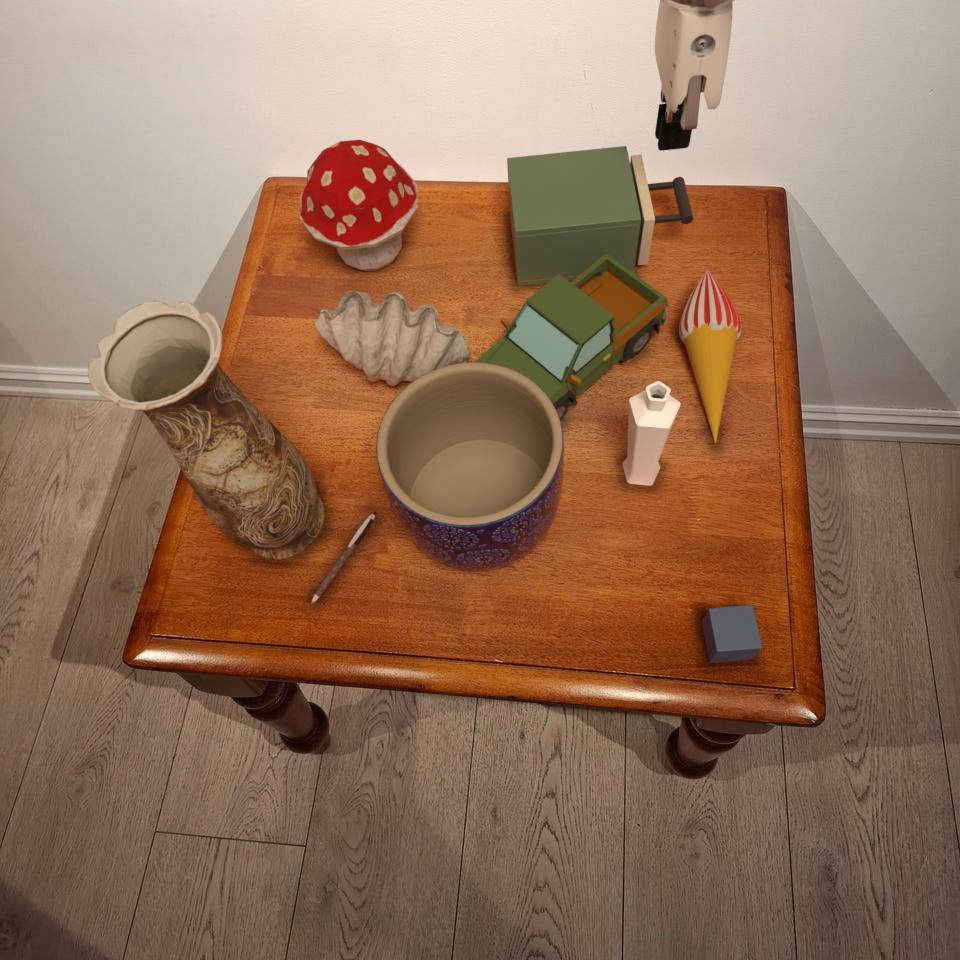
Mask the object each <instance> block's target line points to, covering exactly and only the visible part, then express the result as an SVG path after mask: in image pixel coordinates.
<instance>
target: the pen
mask: <svg viewBox="0 0 960 960" xmlns="http://www.w3.org/2000/svg"><path fill="white" fill-rule="evenodd" d="M376 515H377V511H373V513H371V514H370V515H368V517H367V518H366V519H365V520H364V521H363V523H362V524H361V525H360V527H359V528H358V529H357V531H356V532H355V534H354V536H353V537H352V538H351V540H349V542H348V544H347V545H346V547H345V548H344V550H343V552H342V553H341V554H340V556H339V557H338V559H337V560H336V562H335V563H334V564H333V566H332V567H331V569H330V570H329V572H328V573H327V574H326V576H325V578H324V579H323V581H322V582H321V583H320V585H319V586H318V588H317V589H316V590H315V592H314V593H313V596H312V599H311V603H310V604H311V605H312V604H313V603H315V602H317V601H318V600H319V599H320V598H321V597H322V595H323V594H324V592H325V591H326V590H327V589H328V587H329V585H330V584H331V582H333V580H334V578H335V577H336V576H337V575H338V573H339V572H340V570H341V569H342V567H343V566H344V565H345V563H346V562H347V560H348V559H349V558H350V556H352V554H353V552H354V550H355V549H356V548H357V546H358V545H359V544H360V542H361V540H362V539H363V538H364V536H365V534H366V533H367V531H368V530H369V529H370V527H371V525H372V524H373V523H374V521H375V519H376Z"/></svg>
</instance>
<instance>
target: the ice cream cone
mask: <svg viewBox="0 0 960 960" xmlns="http://www.w3.org/2000/svg"><path fill="white" fill-rule="evenodd" d="M742 327H743V325H742V320H741V317H740V314H739V312H738V309H737V308H736V306H735V304H734V302H733V300H732V299H731V298H730V296H729V294H728V293H727V292H726V290H725V289H724V287H723V286H722V284H721V283H720V282H719V280H718V279H717V278H716V277H715V276H714V275H713V274H712V272H710V270H709V269H708V268H706V269H705V271H704V273H703V274H702V275H701V276H700V278H699V279H698V281H697V283H696V284H695V286H694V288H693V290H692V292H691V294H690V295H689V298H688V300H687V301H686V304H685V307H684V309H683V312H682V314H681V317H680V321H679V325H678V335H679V338H680V340H681V342H682V343H683V345H685V348H686V352H687V355H688V358H689V362H690V365H691V368H692V372H693V375H694V378H695V382H696V386H697V388H698V392H699V395H700V398H701V401H702V402H701V403H702V405H703V408H704V412H705V414H706V419H707V422H708V425H709V428H710V431H711V434H712V438H713V441H714V445H717V440H718V435H719V429H720V425H721V419H722V415H723V411H724V405H725V400H726V395H727V389H728V384H729V380H730V375H731V369H732V365H733V359H734V355H735V349H736V344H737V340H738V339H739V338H740V336H741V333H742V330H743V329H742Z"/></svg>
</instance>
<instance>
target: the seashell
mask: <svg viewBox="0 0 960 960" xmlns="http://www.w3.org/2000/svg"><path fill="white" fill-rule="evenodd" d="M408 303H409V302H408V299H407V297H405V296H404V295H403V294H402V293H400V292H398V291H392V292H390V293H389V294H387V295H386V296H385V297H383V300H382V302H381V304H378V303H377V302H375V301H374V300H373V298H372V297H371V295H370V294H368V293H367V292H364V291H357V290H349V291H348V292H346V293H345V294H344V295H343V296H342V297H341V298H340V299H339V302H338V304H337V307H336V308H333V309H321V310H320V311H319V315H318V318H317V319H316V321H315V323H314V329H315V330H316V331H317V333H318V334H319V335H320V336H321V337H322V338H323V339H324V340H325V341H326V342H327V343H328V344H329V345H330V346H331V347H332V348H333V349H335V351H337V352H338V353H340V355H341V357H342V358H343V359H344V361H345V362H347V363H348V364H350V365H352V366H353V367H354V368H356V369H358V370H360V371H363V372H364V374H365V377H366V378H367V380H368V381H369V382H370V383H376V382H378V381H379V380H383V381H385V383H386V384H387V386H390V387H394V386H397V385H398V384H400V383H401V382H402V381H404V382H413V381H414V380H416V379H418V378H419V377H421V376H423V375H424V374H426V373H428V372H431V371H433V370H435V369H438V368H441V367H444V366H448V365H453V364H458V363H468V362H469V361H470V360H471V352H470V350H469V349H468V346H467V337H466V335H465V333H463V331H461V330H459V329H458V328H456V327H454V326H453V325H448V324H440V321H439V320H440V318H439V317H440V316H439V312H438V310H437V309H436V307H434V306H433V305H432V304H422V305H420V306H418V307H417V309H415V310H411V309H410V307H409V304H408Z"/></svg>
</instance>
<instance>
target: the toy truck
mask: <svg viewBox="0 0 960 960" xmlns="http://www.w3.org/2000/svg"><path fill="white" fill-rule="evenodd" d="M668 300H669V299H668V297H667V296H666V295H664V294H663V293H661V292H660V291H659V290H658V289H656V288H654V287H653V286H652V285H650V284H649V283H648V282H646V281H645V280H643V279H642V278H641V277H639V276H638V275H637V274H635V272H634V273H632V272H631V271H630V270H628V269H627V268H625V267H624V266H623V265H621V264H620V263H619V262H617V261H616V260H614V259H613V258H612V257H610V256H609V255H608V254H605V255H604V256H602V257H601V258H600V259H599V260H597V261H596V262H595V263H594V264H592V265H591V266H590V267H589V268H588V269H586V270H585V271H584V272H583V273H581V274H580V275H579V276H578V277H576V278H575V279H574V280H573V281H568V280H567V279H565V278H564V277H563V276H561V275H560V274H558V275H557V276H556V277H555V278H553V279H552V280H551V281H550V282H548V283H546V284H544V285H543V286H542V287H541V288H539V289H538V290H537V291H536V292H535V293H533V294H532V295H531V296H530V297H528V298H527V299H526V300H525V302H524V304H523V305H522V307H521V308H520V309H519V311H518V313H517V314H516V315H515V317H514V319H513V320H512V322H511V323H510V322H509V321H508V319H507V318H506V317H504V316H502V317H500V323H501V325H502V326H503V328H504V329H505V330H506V331H505V332H504V334H503V335H502V337H500V339H498V340H497V341H496V342H495V343H494V344H493V345H491V347H489V348H488V349H487V350H486V351H485V352H484V353H482V355H480V356H479V357H478V358H477V359H476V360H475V361H474V362H480V363H490V364H495V365H500V366H503V367H506V368H509V369H512V370H514V371H516V372H519V373H520V374H522V375H524V376H526V377H527V378H529V379H530V380H532V381H533V382H534V383H536V384H537V385H538V386H539V387H540V388H541V389H542V390H543V391H544V392H545V393H546V395H547V396H548V397H549V398H550V400H551V401H552V403H553V405H554V406H555V408H556V410H557V412H558V415H559V417H560V421H561V422H562V420H563V419H564V417H565V416H566V414H567V412H568V410H569V408H570V404H572V406H575V407H576V405H577V404H578V403H579V402H578V400H577V398H578V397H579V396H580V395H581V394H583V393H584V392H585V391H586V390H587V389H589V387H591V385H593V384H594V383H595V382H596V381H598V380H599V379H600V378H601V377H602V376H603V375H604V374H606V373H607V372H608V371H609V370H610V369H611V368H613V367H614V366H615V365H616V364H617V363H619V362H620V361H622V362H627V361H629V359H632V358H635V357H636V356H638V355H639V354H640V353H641V352H642V351H643V350H644V349H645V348H646V346H647V345H648V344H649V342H650V340H651V338H653V337H652V336H653V333H655V334H656V335H659V333H660V330H661V328H660V327H661V325H662V326H664V324H665V323H666V320H667V312H666V309H667V308H668V307H669V301H668Z"/></svg>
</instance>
